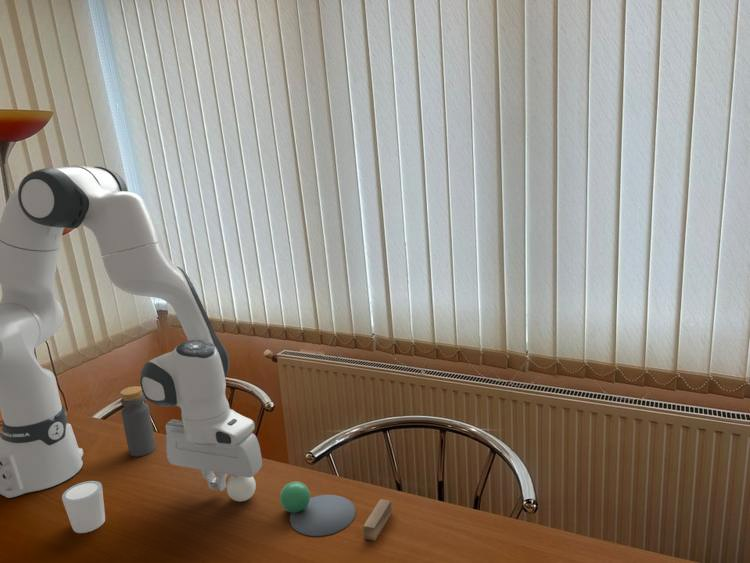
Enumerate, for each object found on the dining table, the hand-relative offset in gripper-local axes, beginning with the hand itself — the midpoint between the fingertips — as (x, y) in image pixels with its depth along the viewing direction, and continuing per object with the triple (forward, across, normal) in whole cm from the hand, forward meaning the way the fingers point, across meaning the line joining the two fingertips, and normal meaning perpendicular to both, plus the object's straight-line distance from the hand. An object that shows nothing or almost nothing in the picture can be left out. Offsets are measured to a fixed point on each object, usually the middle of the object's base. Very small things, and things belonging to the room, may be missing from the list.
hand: (217, 488), depth 120 cm
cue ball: (-1, +6, 0) cm, 6 cm away
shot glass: (+2, -19, -14) cm, 24 cm away
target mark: (+2, +23, 0) cm, 23 cm away
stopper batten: (+2, +34, 0) cm, 34 cm away
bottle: (+2, -29, +10) cm, 31 cm away
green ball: (-1, +18, 0) cm, 18 cm away
